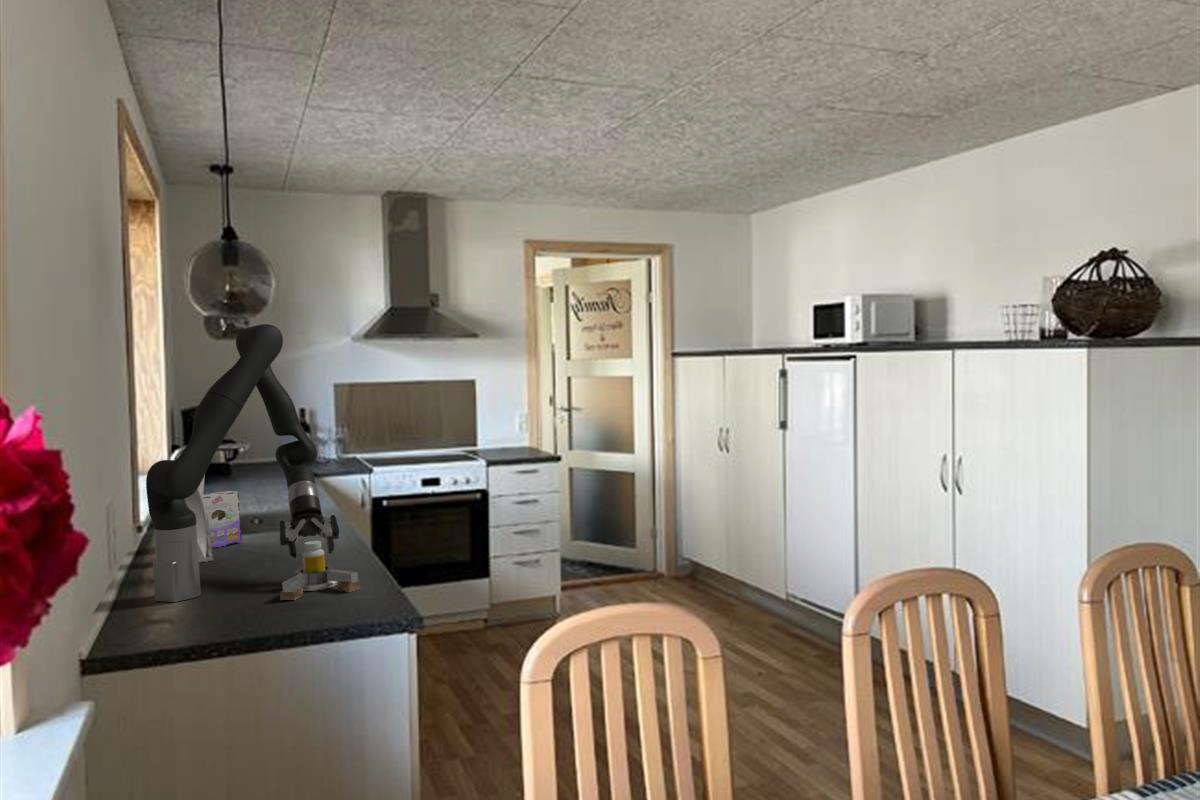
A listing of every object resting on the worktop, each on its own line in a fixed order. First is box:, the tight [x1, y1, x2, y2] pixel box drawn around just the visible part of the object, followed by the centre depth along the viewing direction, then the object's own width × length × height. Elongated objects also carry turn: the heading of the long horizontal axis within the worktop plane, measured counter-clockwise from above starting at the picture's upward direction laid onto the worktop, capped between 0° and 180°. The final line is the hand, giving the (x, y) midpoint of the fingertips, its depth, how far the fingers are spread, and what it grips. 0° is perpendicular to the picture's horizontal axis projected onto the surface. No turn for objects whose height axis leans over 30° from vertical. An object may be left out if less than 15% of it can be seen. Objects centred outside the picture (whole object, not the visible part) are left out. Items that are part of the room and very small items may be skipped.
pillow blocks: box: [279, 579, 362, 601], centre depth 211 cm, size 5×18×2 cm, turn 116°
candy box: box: [202, 490, 243, 549], centre depth 271 cm, size 14×6×16 cm, turn 141°
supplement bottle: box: [301, 540, 326, 573], centre depth 219 cm, size 5×5×10 cm
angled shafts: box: [281, 568, 359, 592], centre depth 210 cm, size 14×14×2 cm
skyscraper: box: [185, 474, 214, 564], centre depth 250 cm, size 8×8×28 cm
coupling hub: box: [294, 564, 338, 593], centre depth 219 cm, size 12×12×4 cm
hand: (312, 554), depth 220 cm, fingers open, 8 cm apart
